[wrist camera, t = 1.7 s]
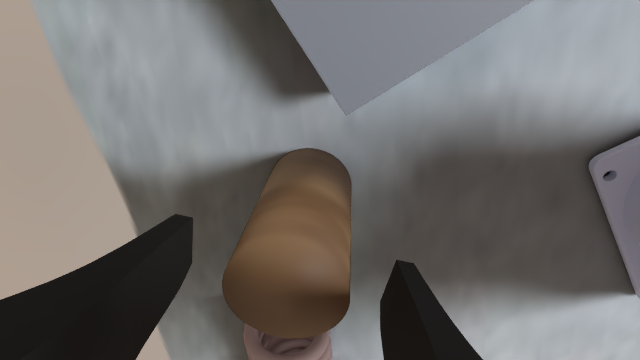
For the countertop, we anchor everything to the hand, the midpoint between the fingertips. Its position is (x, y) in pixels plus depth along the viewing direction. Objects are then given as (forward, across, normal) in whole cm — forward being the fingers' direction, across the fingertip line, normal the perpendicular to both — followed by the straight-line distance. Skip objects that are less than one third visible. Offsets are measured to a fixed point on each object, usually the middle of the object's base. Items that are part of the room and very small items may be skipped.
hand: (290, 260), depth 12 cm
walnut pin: (+5, 0, 0) cm, 5 cm away
